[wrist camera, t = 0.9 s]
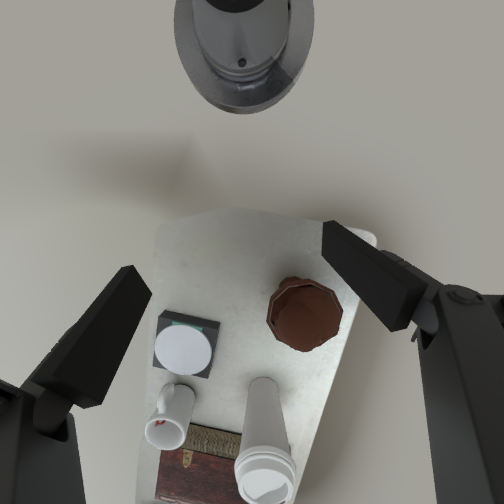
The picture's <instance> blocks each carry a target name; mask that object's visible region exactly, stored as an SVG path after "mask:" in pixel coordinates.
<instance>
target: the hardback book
mask: <svg viewBox="0 0 504 504" xmlns="http://www.w3.org/2000/svg"><path fill="white" fill-rule="evenodd" d="M241 439H242V436H241V435H236V434H232V433H227V432H223V431H219V430H214V429H210V428H205V427H201V426H196V425H192V424H189V427H188V431H187V435H186V439H185V441H184V443H183V444H182V445H181V446H180V447H178V448H177V449H173V450H162V449H161V456H160V463H159V470H158V478H157V485H156V492H155V499H158V500H162V501H167V502H171V503H176V504H250V503H248V502H247V501H245V500H244V499H243V498H242V496H241V495H240V493H239V490H238V483H237V481H236V477H235V469H234V465H235V461H236V459H237V457H238V456H239V451H240V445H241ZM289 449H290V446H289ZM290 454H291V450H290Z"/></svg>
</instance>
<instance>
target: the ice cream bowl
mask: <svg viewBox="0 0 504 504" xmlns="http://www.w3.org/2000/svg"><path fill="white" fill-rule="evenodd" d="M342 314H343V309H342V307H341V305H340V303H339V301H338V299H337V296H336V294H335V292H334V291H333V290H331V289H329V288H327V287H325V286H323V285H321V284H319V283H317V282H315V281H313V280H311V279H302V280H301V279H299V278H297V277H288V278H286V279H284V280H283V281H282V282H281V283H280V286H279V289H278V290H277V291H276V292H275V293H274V294H273V295H272V296H271V298H270V302H269V308H268V314H267V320H266V322H267V324H268V325H269V327H270V329H271V331H272V332H273V334H274V336H275V338H276V339H277V340H278V341H281V342H283V343H285V344H287V345H289V346H290V347H291V348H293V349H295V350H299V351H301V352H309V351H311V350H312V349H313V348H315V347H318V346H321V345H322V344H323V343H325V342H326V341H328V340H329V339H331V338H332V337H334V336H336V335H337V334H338V331H339V325H340V322H341V318H342Z"/></svg>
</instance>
